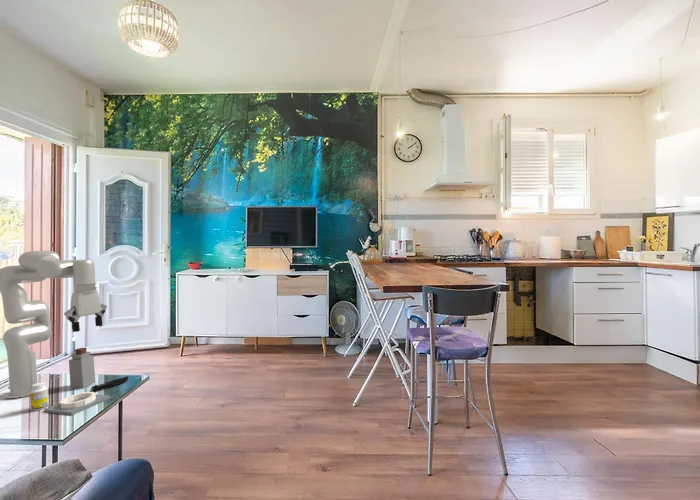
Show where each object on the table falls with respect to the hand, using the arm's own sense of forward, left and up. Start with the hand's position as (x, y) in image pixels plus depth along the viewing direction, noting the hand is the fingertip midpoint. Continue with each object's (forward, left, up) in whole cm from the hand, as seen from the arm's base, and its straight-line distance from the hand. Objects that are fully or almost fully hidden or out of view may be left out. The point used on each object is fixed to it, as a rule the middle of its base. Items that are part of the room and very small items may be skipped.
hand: (88, 328), depth 153 cm
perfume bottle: (-25, +13, -31) cm, 42 cm away
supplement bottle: (-17, -10, -31) cm, 37 cm away
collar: (-3, -4, -31) cm, 31 cm away
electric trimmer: (-9, +14, -32) cm, 36 cm away
